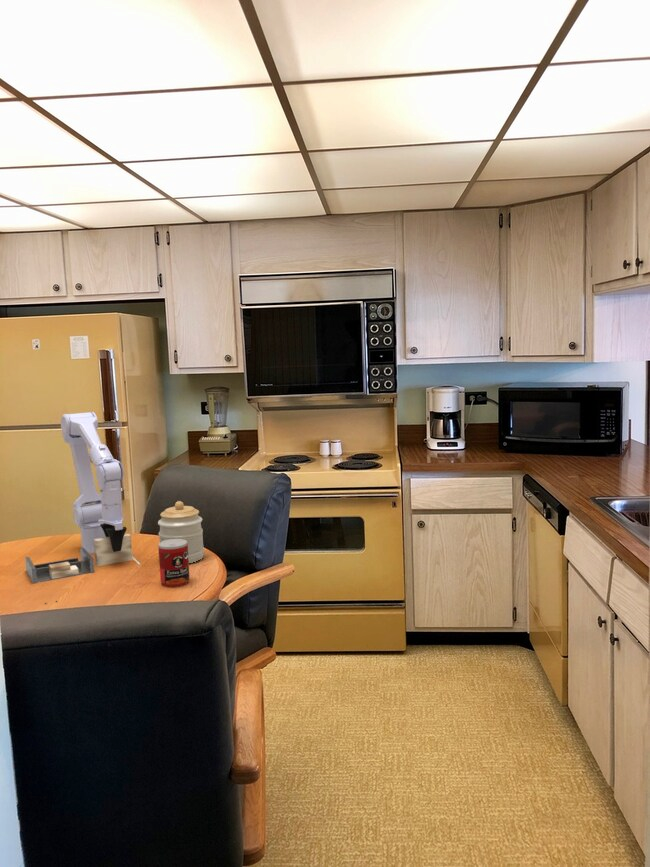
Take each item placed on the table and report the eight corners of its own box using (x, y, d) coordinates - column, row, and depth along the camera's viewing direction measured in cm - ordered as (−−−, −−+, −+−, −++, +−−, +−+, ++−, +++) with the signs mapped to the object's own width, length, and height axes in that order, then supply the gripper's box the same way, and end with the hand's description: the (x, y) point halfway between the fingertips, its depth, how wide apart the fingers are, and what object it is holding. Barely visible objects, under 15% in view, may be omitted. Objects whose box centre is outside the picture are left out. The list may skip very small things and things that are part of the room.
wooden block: (130, 559, 205) (128, 533, 205) (132, 561, 203) (130, 535, 202) (95, 565, 200) (93, 539, 200) (97, 568, 198) (95, 541, 197)
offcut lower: (75, 570, 195) (75, 565, 195) (78, 574, 192) (78, 568, 191) (49, 575, 191) (49, 569, 191) (52, 578, 188) (51, 573, 188)
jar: (151, 563, 202) (147, 504, 200) (176, 551, 214) (173, 495, 212) (188, 567, 197) (185, 507, 195) (212, 554, 209) (209, 497, 207)
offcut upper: (68, 566, 194) (67, 561, 193) (70, 569, 191) (70, 564, 190) (49, 570, 191) (48, 564, 191) (51, 573, 188) (51, 567, 188)
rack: (84, 564, 204) (83, 547, 203) (94, 575, 193) (93, 558, 192) (26, 574, 196) (25, 557, 195) (33, 587, 185) (31, 569, 184)
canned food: (164, 589, 180) (162, 548, 178) (157, 580, 187) (154, 541, 186) (193, 584, 183) (191, 543, 182) (185, 575, 190) (182, 537, 189)
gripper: (91, 501, 204) (95, 545, 206) (103, 510, 192) (106, 557, 193) (116, 497, 208) (119, 541, 209) (128, 506, 195) (131, 553, 197)
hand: (114, 548), depth 202 cm, fingers open, 5 cm apart
